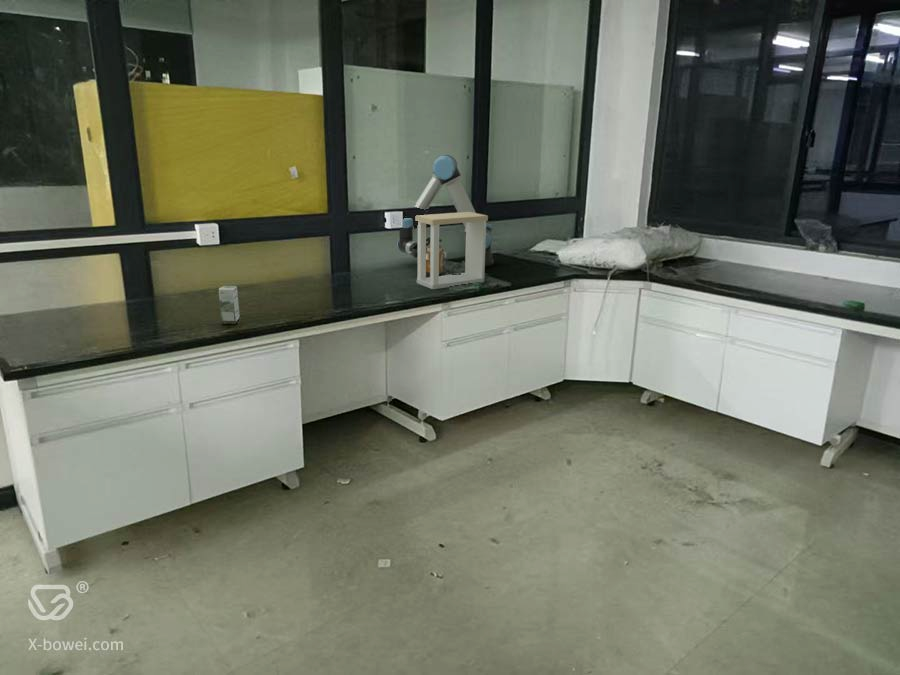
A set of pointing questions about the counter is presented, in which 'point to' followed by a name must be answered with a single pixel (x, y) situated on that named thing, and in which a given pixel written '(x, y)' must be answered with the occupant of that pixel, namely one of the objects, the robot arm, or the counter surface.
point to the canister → (429, 258)
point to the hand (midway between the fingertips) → (437, 256)
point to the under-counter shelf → (472, 255)
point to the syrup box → (229, 303)
